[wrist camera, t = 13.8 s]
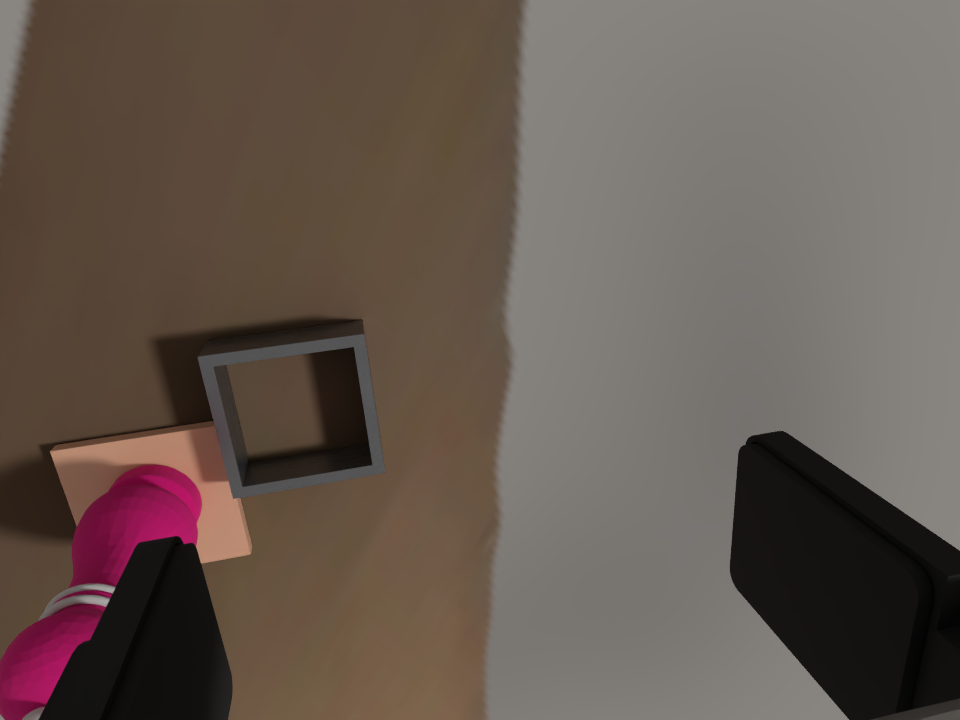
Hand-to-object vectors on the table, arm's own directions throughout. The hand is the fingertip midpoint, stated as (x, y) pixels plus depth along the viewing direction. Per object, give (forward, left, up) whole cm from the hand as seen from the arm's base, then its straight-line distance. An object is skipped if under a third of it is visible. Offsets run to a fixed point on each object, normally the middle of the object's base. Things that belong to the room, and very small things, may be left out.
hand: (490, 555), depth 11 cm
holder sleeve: (+11, -7, -36) cm, 39 cm away
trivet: (+17, -18, -36) cm, 44 cm away
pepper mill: (+17, -18, -35) cm, 43 cm away
